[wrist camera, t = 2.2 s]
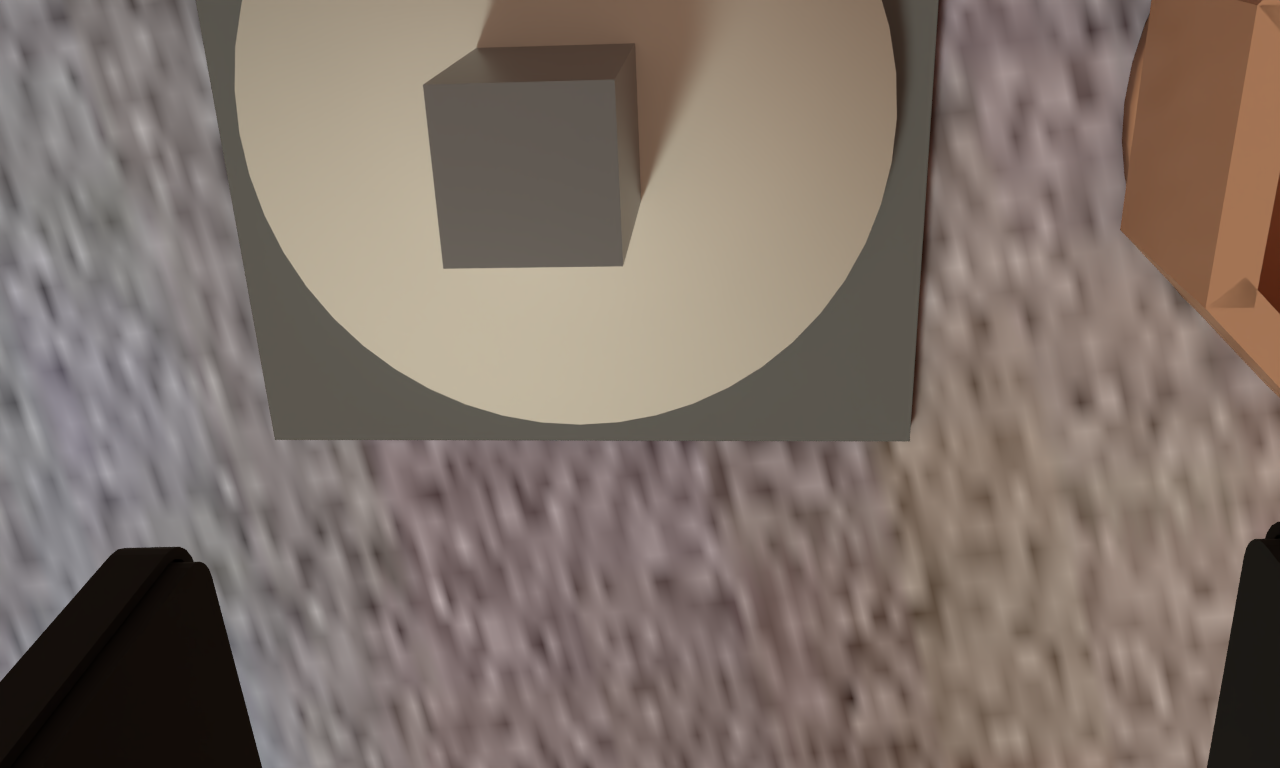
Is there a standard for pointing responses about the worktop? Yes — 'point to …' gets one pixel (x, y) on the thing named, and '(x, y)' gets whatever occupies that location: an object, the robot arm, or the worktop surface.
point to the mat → (747, 411)
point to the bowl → (1210, 165)
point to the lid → (569, 184)
